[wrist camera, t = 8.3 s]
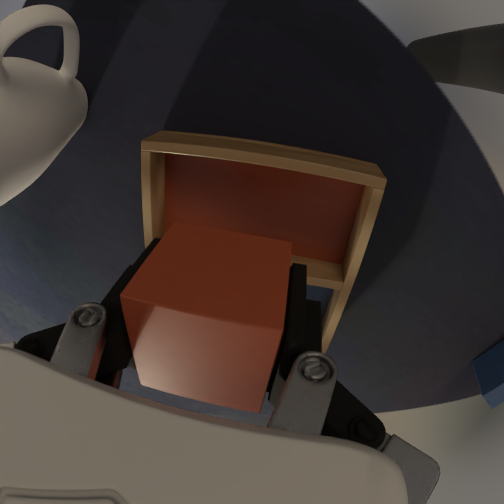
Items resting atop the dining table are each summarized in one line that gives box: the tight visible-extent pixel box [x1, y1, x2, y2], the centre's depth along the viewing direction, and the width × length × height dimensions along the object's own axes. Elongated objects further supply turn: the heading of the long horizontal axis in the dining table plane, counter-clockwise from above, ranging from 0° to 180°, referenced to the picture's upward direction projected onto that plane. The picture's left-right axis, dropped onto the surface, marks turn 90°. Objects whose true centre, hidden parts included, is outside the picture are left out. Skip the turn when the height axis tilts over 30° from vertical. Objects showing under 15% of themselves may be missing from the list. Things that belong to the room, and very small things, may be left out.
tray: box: [141, 131, 387, 354], centre depth 20 cm, size 14×13×3 cm
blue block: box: [471, 340, 504, 408], centre depth 22 cm, size 4×4×4 cm
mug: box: [0, 5, 88, 206], centre depth 12 cm, size 12×8×11 cm
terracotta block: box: [120, 222, 292, 413], centre depth 11 cm, size 4×4×4 cm
